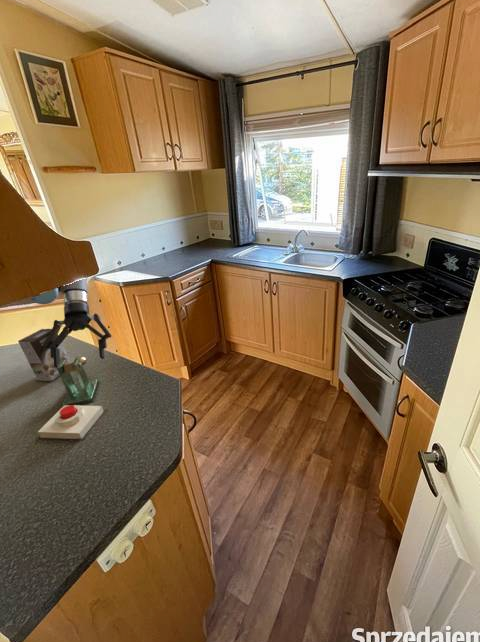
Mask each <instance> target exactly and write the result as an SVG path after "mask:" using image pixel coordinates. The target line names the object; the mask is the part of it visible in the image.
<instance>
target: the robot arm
mask: <svg viewBox="0 0 480 642" xmlns="http://www.w3.org/2000/svg"><path fill="white" fill-rule="evenodd" d="M59 292H60V293H61V292H62V294H63V315H64V319H63V320H57V319H55V320H53V326H52V328H51V329H52V330H51V332H50V334H49V335H48V337H47V339H46V341H45V343H44V345H43V347H45V348H47V349H50V353H51V354H50V356H51V358H53V359H54V367H58V365H59V363H60V349H58V346H59V345H60V344H61V343H62V344H63V342H64V341H65V339H66V338H67V337H68V335H69V334H71V333H72V332H78V331H83V330H85V329H88V330H89V331H90V332H92V333H93V334H94V335H95V336H97V337H98V339H97V343H98V353H99V358H100V359H102V360H104V359H105V350H106V349H107V347H108V346H107V340H108V339H110V338H112V333H110V331H109V329H107V327H106V326H105V325H104V324H103V322H102V321H101V316H100V315H99V314H98V313H94V314H93V315H90V306H89V293H88V278H87V277H86V279H82V280H79V281H76V282H74V283H72V284H69V285H65V286H62V287H59V288H57V289H54V290H51V291H48V292H45V293H42V294H40V295H39V296H36V297H32V298H29V299H30V300H31V301H32V302H33V303H35V304H38V305H49V304H51V303H53V302H55V300H57V298H58V296H59ZM91 321H92V322H95V323H96V324H97V325H98V327H99V328H100V330H101V331H102V332H103V333H104V334H102V333H101V332H100V331H98V330H97V329H96V328H94V327H93V326H92V325H90V323H91ZM63 325H65V326H63ZM62 327H63V328H62ZM61 328H62V329H61ZM61 330H62V331H61ZM60 331H61V332H60ZM59 332H60V333H59ZM57 334H58V336H57ZM56 336H57V338H56ZM55 338H56V339H55Z"/></svg>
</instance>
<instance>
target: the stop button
mask: <svg viewBox="0 0 480 642" xmlns="http://www.w3.org/2000/svg"><path fill="white" fill-rule="evenodd" d="M76 413H77V411H76V409H75V406H73V405H70V406H67V407H64V408H63V409H62V410H61V411H60V415H61V417H62V419H68V418H71V417H73V416H74V415H75V414H76Z"/></svg>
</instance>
